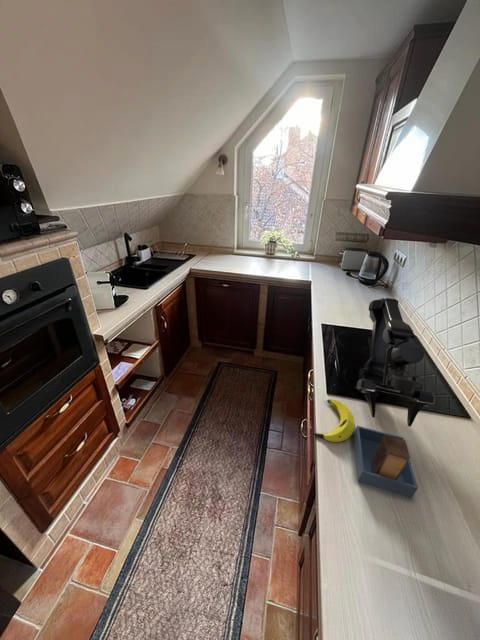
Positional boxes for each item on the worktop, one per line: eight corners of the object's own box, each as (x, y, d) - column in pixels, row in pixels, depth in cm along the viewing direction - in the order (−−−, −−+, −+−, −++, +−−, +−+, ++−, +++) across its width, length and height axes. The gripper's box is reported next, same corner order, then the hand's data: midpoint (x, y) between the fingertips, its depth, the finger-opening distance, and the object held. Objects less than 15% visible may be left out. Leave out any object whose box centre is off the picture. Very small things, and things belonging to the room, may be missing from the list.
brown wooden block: (370, 463, 74) (384, 434, 67) (389, 468, 73) (405, 439, 66) (372, 480, 70) (388, 451, 63) (392, 486, 68) (410, 458, 62)
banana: (344, 393, 92) (302, 397, 93) (365, 433, 77) (316, 438, 78) (343, 402, 94) (303, 407, 95) (364, 443, 79) (316, 448, 80)
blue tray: (352, 435, 82) (356, 425, 80) (397, 447, 79) (403, 437, 77) (357, 482, 70) (362, 471, 67) (410, 498, 66) (418, 488, 64)
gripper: (369, 356, 70) (363, 415, 66) (447, 371, 65) (445, 435, 61) (359, 361, 80) (353, 412, 76) (425, 375, 76) (422, 429, 72)
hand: (390, 421), depth 71 cm, fingers open, 9 cm apart
